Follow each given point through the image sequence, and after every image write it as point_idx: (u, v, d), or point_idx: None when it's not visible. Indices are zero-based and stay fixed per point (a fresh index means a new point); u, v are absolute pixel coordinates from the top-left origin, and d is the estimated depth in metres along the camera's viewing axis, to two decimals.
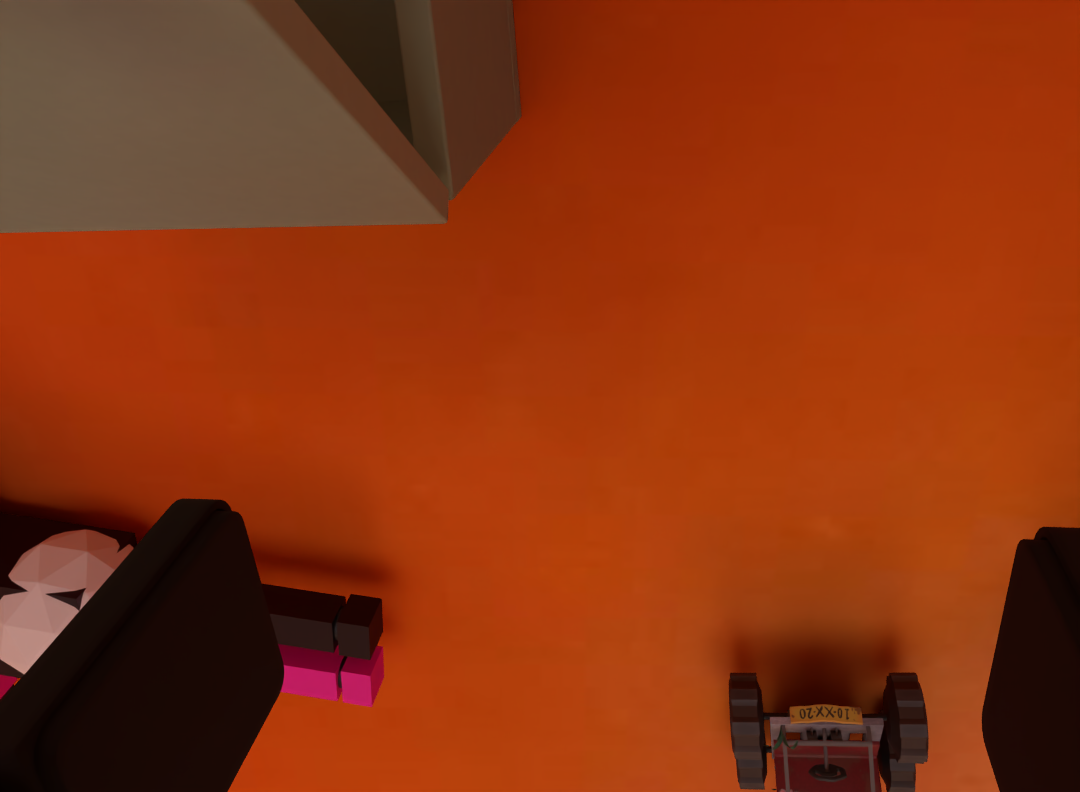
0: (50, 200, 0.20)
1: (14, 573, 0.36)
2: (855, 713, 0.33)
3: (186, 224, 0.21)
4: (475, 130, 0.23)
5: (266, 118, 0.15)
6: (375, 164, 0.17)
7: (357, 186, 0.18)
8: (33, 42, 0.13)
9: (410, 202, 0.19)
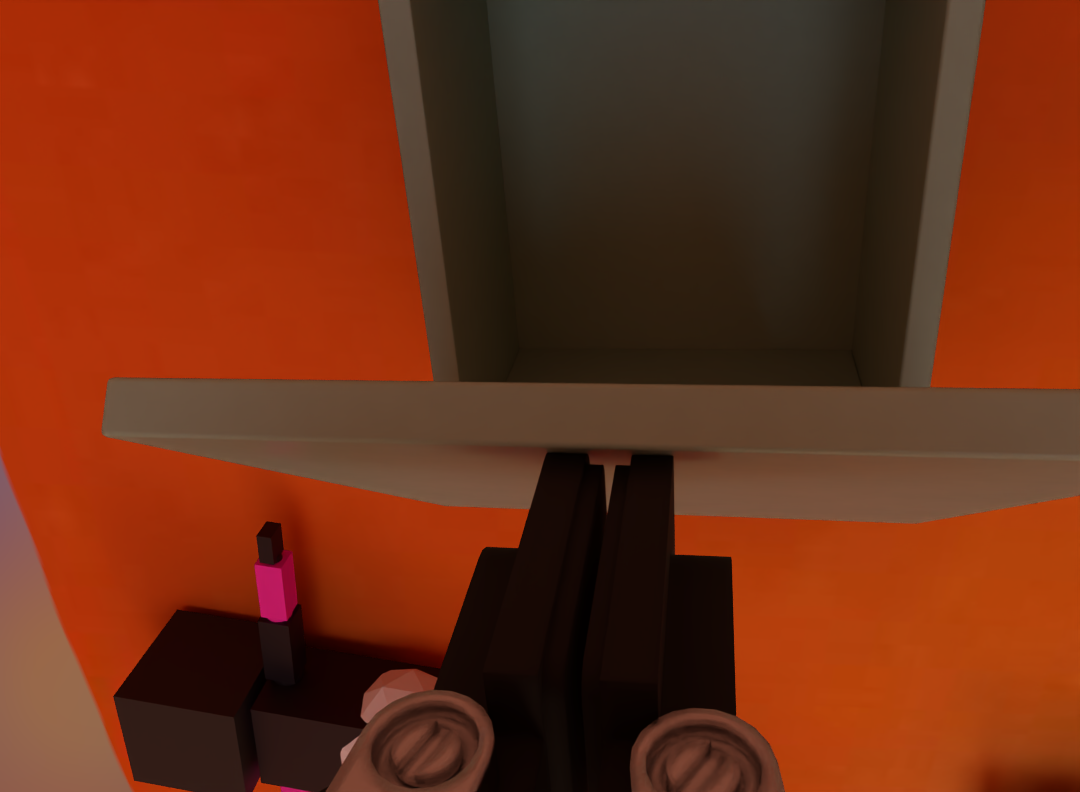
0: None
1: (366, 715, 0.41)
2: None
3: (694, 514, 0.26)
4: None
5: (909, 510, 0.20)
6: (937, 517, 0.22)
7: (894, 518, 0.23)
8: (828, 499, 0.18)
9: (916, 521, 0.24)
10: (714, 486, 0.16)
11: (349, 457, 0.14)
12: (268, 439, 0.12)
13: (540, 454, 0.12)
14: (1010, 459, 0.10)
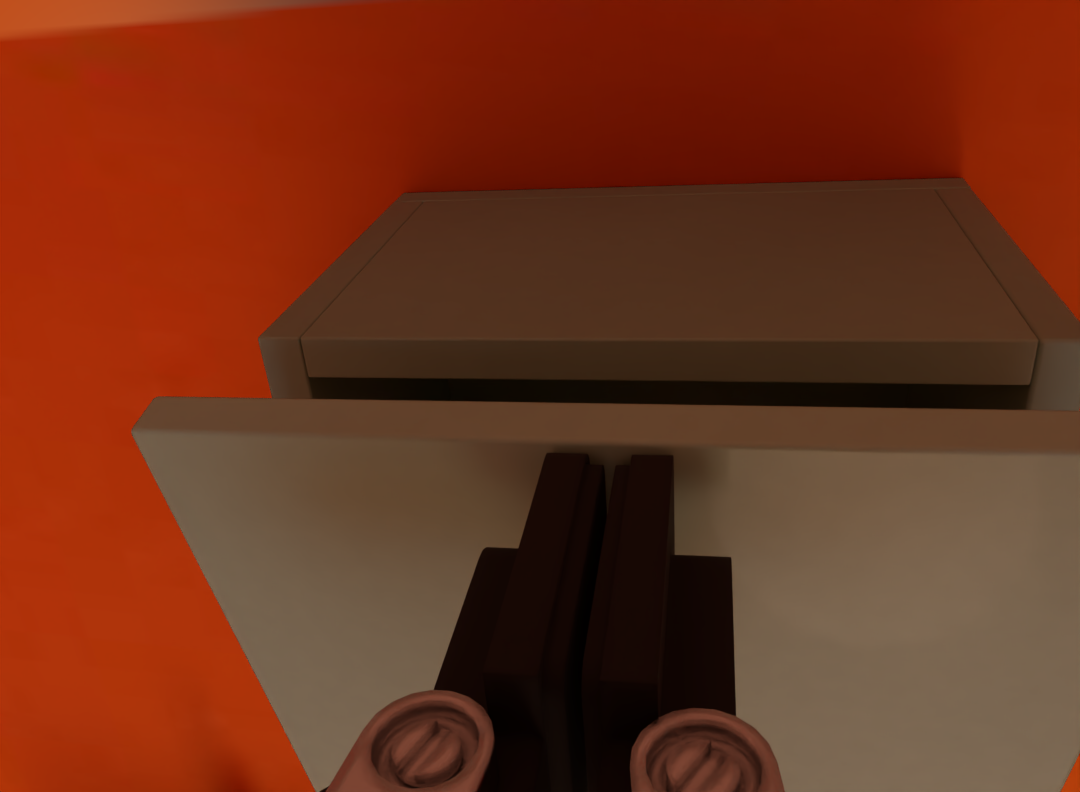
0: None
1: None
2: None
3: None
4: None
5: None
6: None
7: None
8: (839, 780, 0.16)
9: None
10: None
11: (346, 534, 0.13)
12: (289, 436, 0.12)
13: None
14: (993, 457, 0.11)
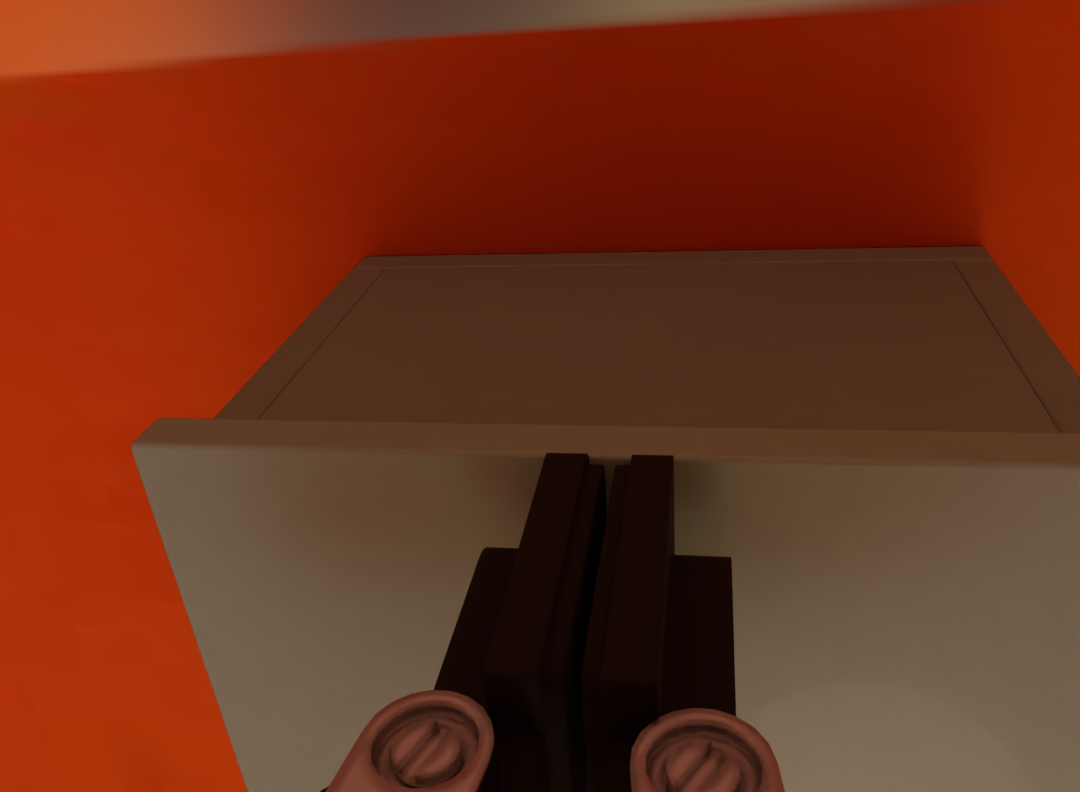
0: None
1: None
2: None
3: None
4: None
5: None
6: None
7: None
8: None
9: None
10: None
11: (335, 562, 0.13)
12: (287, 449, 0.12)
13: None
14: (979, 470, 0.11)
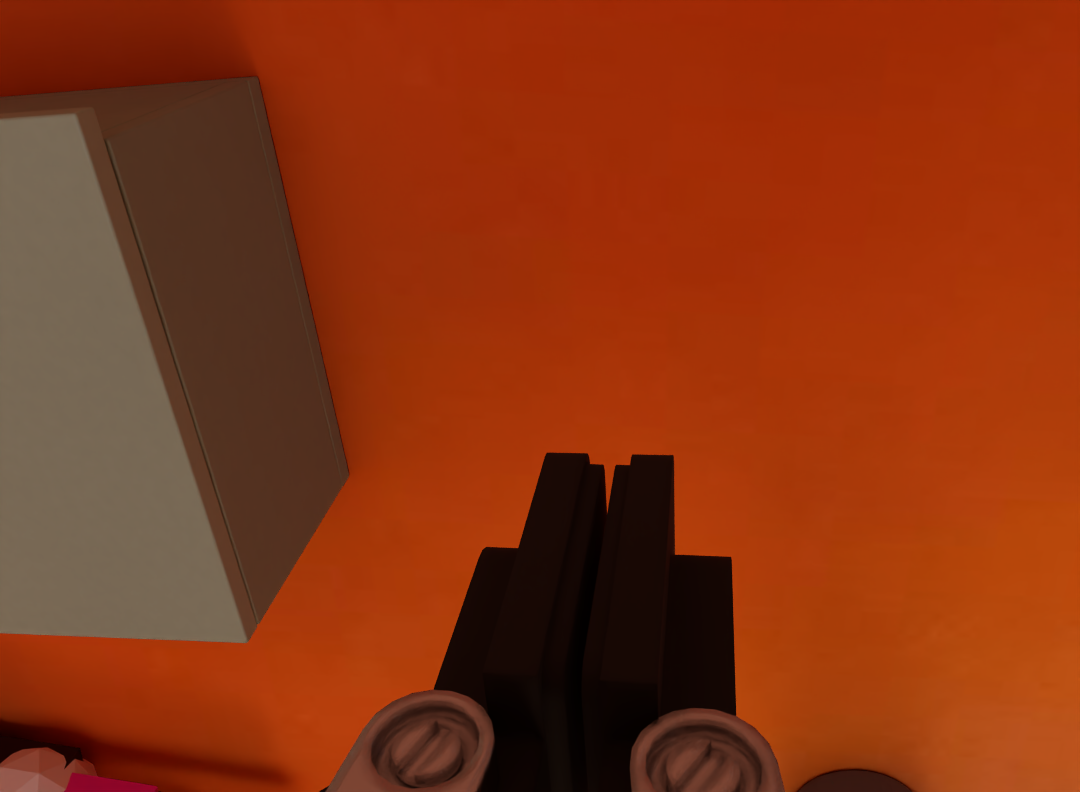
0: None
1: None
2: None
3: (71, 627, 0.30)
4: (285, 549, 0.32)
5: (152, 487, 0.27)
6: (206, 548, 0.27)
7: (192, 577, 0.28)
8: (56, 403, 0.26)
9: (224, 604, 0.28)
10: None
11: None
12: None
13: None
14: None
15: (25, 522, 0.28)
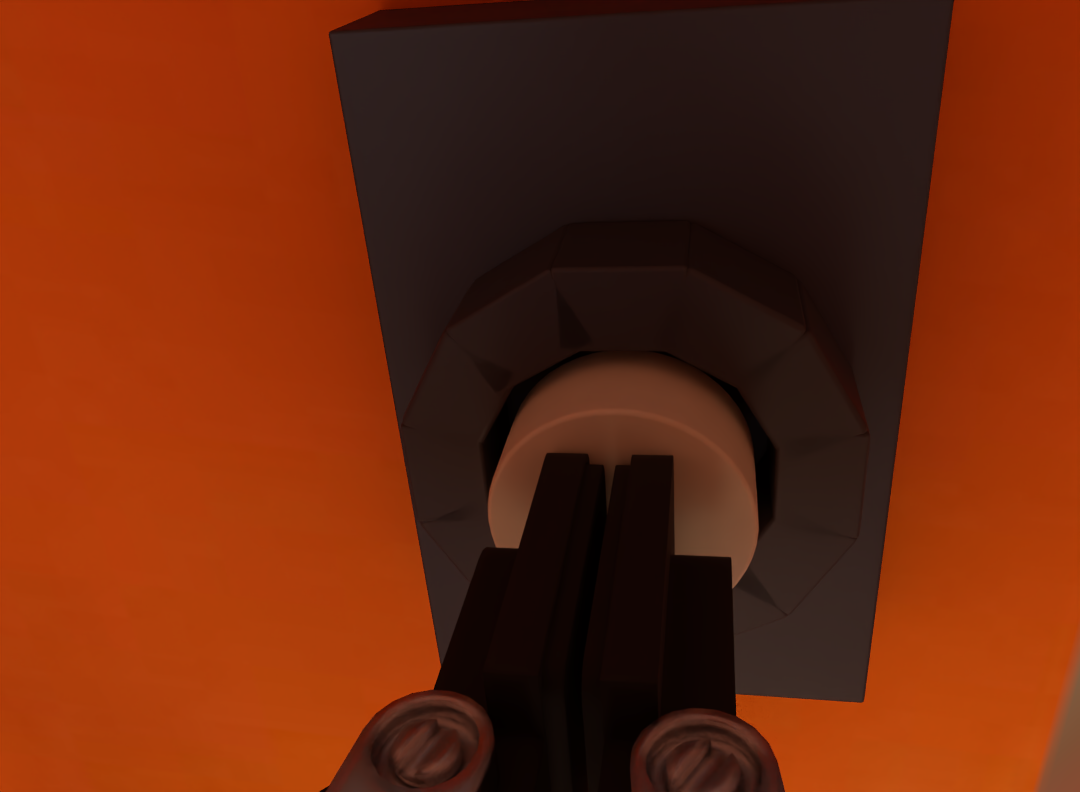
0: None
1: None
2: None
3: None
4: None
5: None
6: None
7: None
8: None
9: None
10: None
11: None
12: None
13: None
14: None
15: None
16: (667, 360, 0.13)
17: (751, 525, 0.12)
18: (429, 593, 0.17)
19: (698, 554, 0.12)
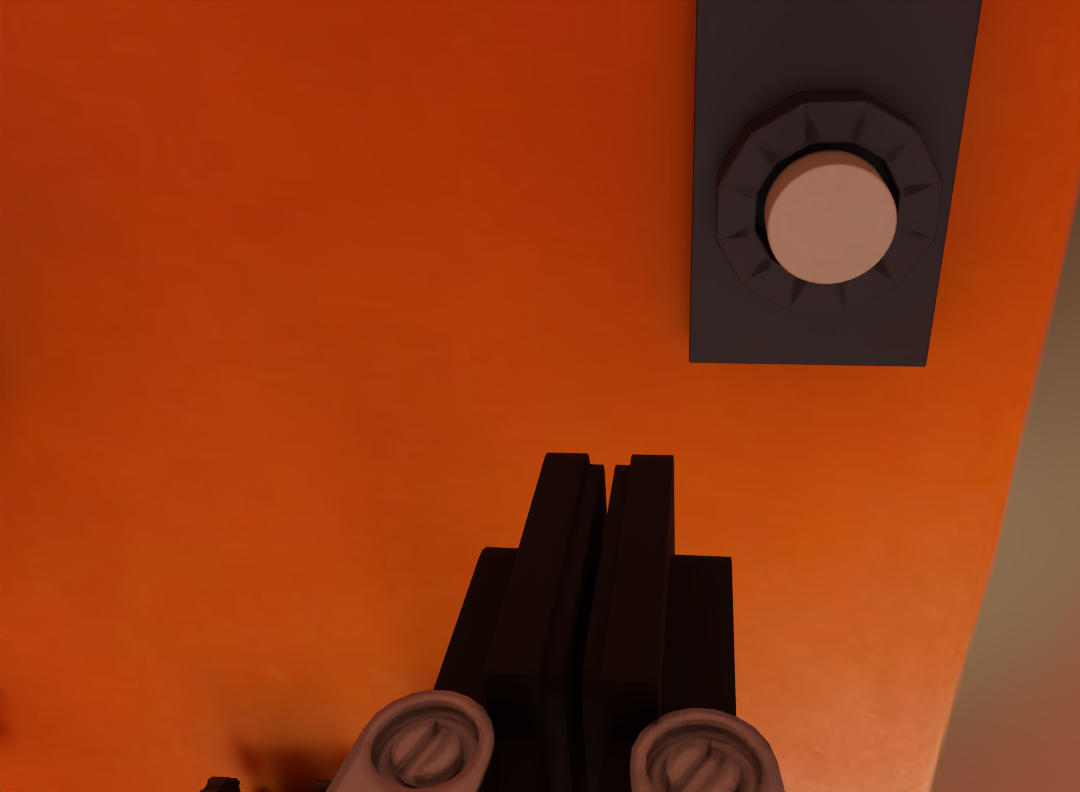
0: None
1: None
2: None
3: None
4: None
5: None
6: None
7: None
8: None
9: None
10: None
11: None
12: None
13: None
14: None
15: None
16: (851, 153, 0.27)
17: (894, 221, 0.26)
18: (691, 308, 0.32)
19: (867, 238, 0.27)
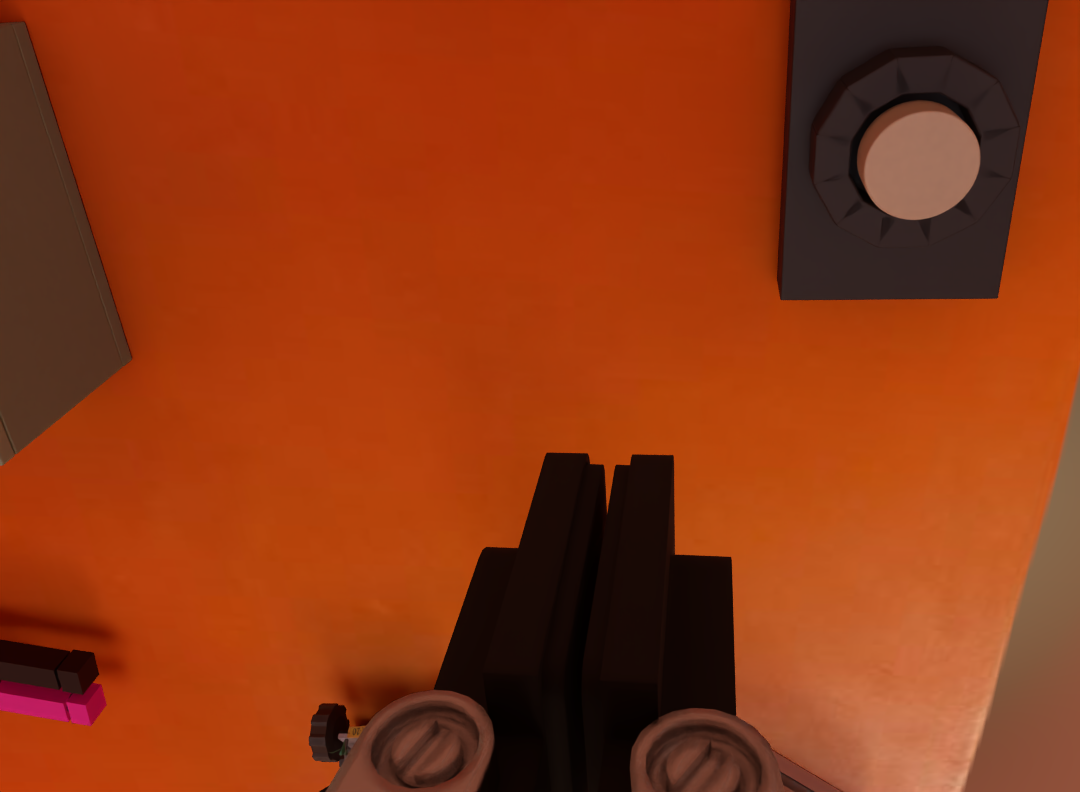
0: None
1: None
2: None
3: None
4: (49, 402, 0.40)
5: None
6: None
7: None
8: None
9: None
10: None
11: None
12: None
13: None
14: None
15: None
16: (937, 103, 0.31)
17: (978, 161, 0.30)
18: (784, 249, 0.35)
19: (953, 177, 0.30)
